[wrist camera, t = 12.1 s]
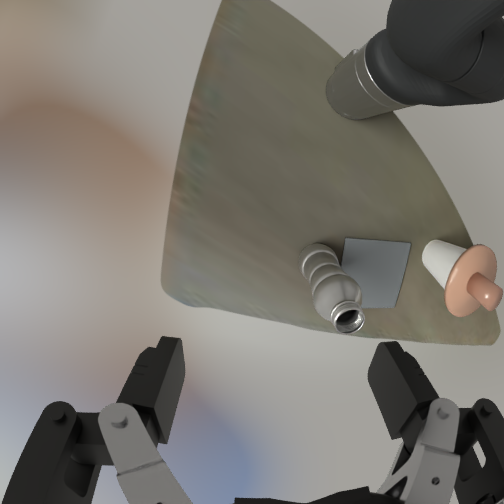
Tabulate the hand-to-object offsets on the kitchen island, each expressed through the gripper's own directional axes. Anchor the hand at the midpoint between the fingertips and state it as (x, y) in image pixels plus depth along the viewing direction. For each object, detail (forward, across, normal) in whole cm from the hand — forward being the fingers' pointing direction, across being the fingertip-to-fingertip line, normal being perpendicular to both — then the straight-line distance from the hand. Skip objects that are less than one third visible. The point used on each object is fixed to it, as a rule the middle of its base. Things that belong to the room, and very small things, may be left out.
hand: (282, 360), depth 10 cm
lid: (+23, -36, +7) cm, 43 cm away
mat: (+36, -22, +12) cm, 44 cm away
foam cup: (+36, -36, +7) cm, 52 cm away
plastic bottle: (+36, -10, +9) cm, 39 cm away
